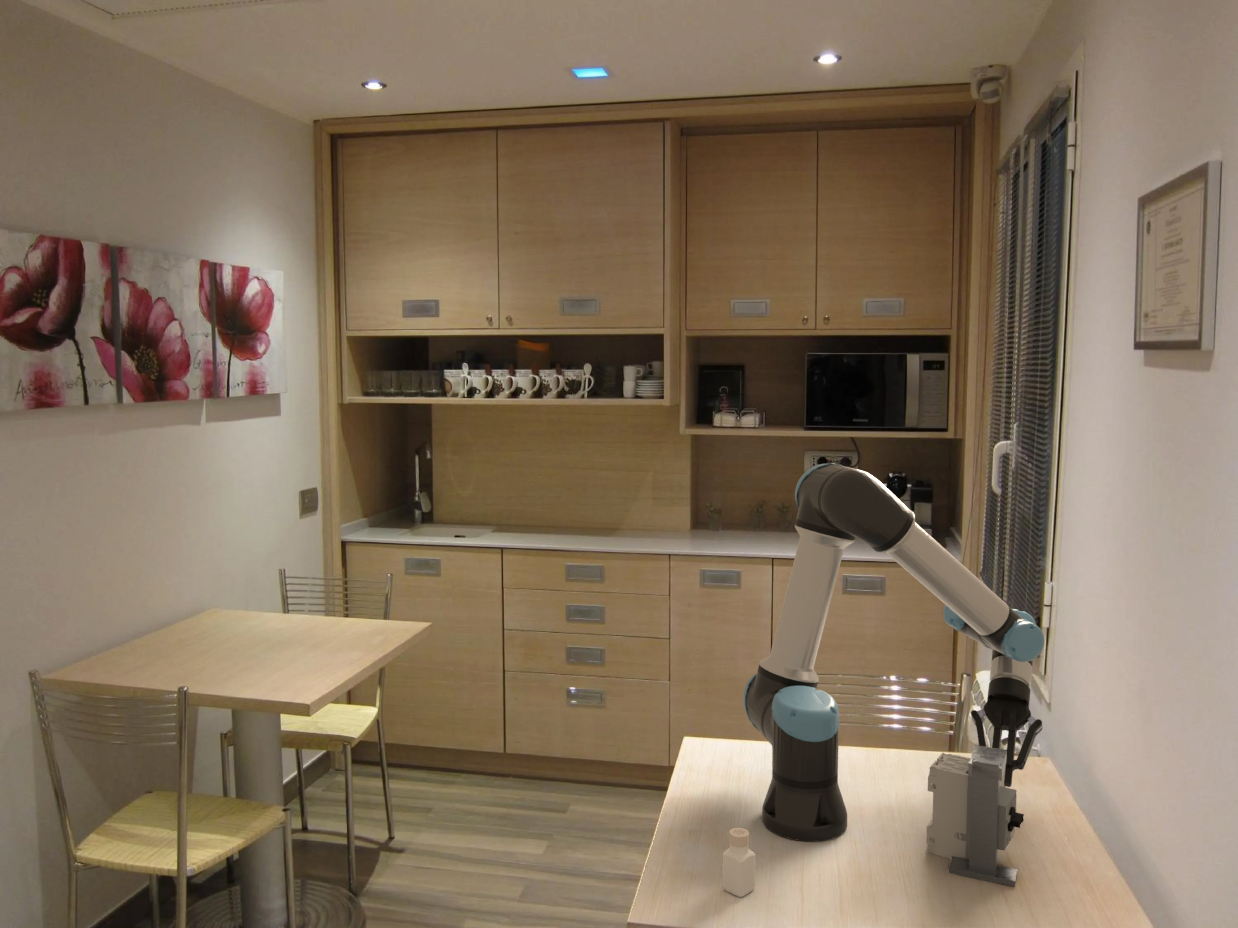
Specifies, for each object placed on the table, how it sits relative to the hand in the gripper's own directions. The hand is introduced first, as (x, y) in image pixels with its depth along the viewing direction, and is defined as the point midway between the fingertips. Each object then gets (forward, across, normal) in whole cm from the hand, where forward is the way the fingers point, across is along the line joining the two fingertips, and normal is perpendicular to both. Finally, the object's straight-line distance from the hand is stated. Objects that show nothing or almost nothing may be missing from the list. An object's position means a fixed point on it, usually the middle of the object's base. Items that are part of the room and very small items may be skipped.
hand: (998, 801), depth 177 cm
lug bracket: (+16, 0, +11) cm, 19 cm away
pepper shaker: (+33, +34, +29) cm, 55 cm away
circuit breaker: (+13, +2, +8) cm, 16 cm away
